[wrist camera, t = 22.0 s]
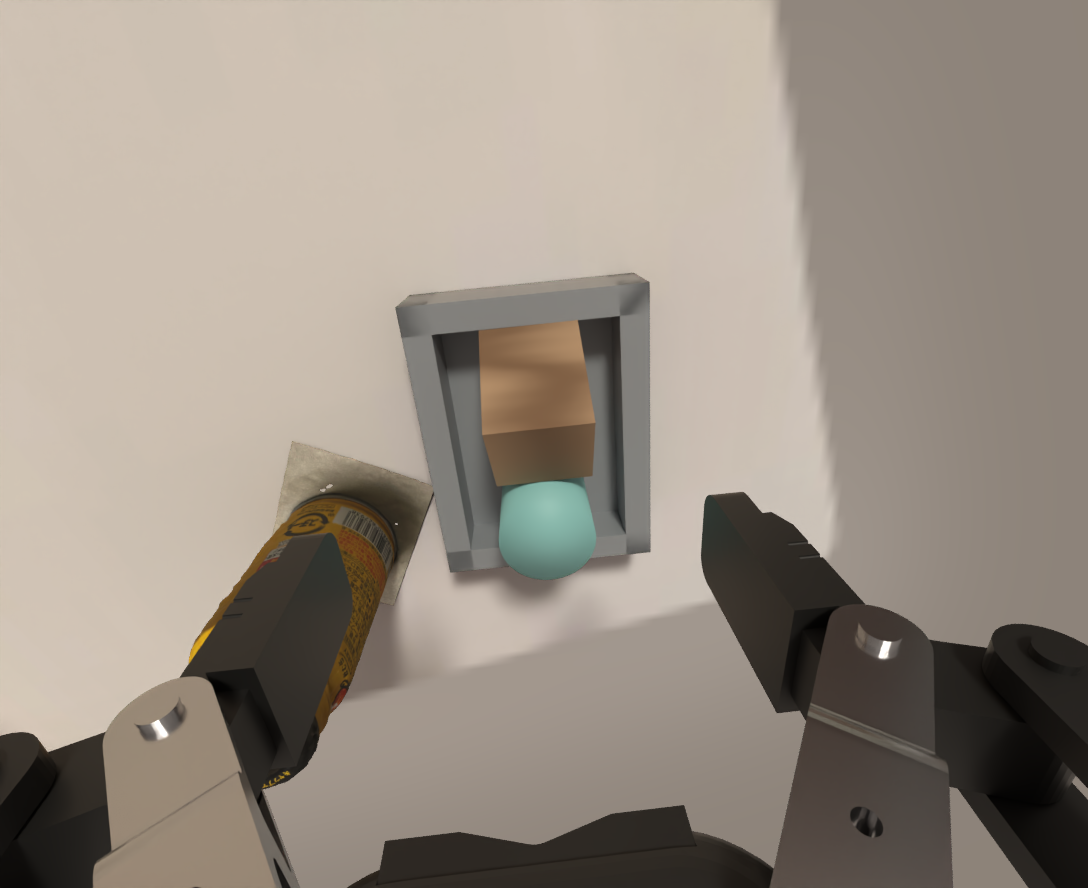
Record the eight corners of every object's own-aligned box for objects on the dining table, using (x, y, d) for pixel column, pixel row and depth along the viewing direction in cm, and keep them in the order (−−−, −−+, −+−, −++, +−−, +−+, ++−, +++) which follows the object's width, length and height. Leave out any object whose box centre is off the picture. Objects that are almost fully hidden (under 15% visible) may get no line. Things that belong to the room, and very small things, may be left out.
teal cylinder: (507, 514, 27) (504, 583, 22) (498, 445, 25) (492, 503, 20) (584, 506, 27) (598, 575, 22) (579, 437, 25) (594, 494, 20)
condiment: (265, 569, 29) (113, 790, 18) (293, 439, 26) (130, 612, 15) (394, 602, 30) (325, 826, 19) (436, 483, 27) (381, 670, 16)
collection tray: (456, 537, 28) (450, 572, 26) (409, 295, 23) (395, 307, 20) (637, 518, 29) (650, 551, 26) (633, 272, 23) (649, 282, 20)
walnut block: (492, 391, 24) (497, 486, 22) (478, 330, 21) (482, 434, 18) (577, 381, 24) (592, 476, 22) (577, 319, 21) (595, 422, 18)
